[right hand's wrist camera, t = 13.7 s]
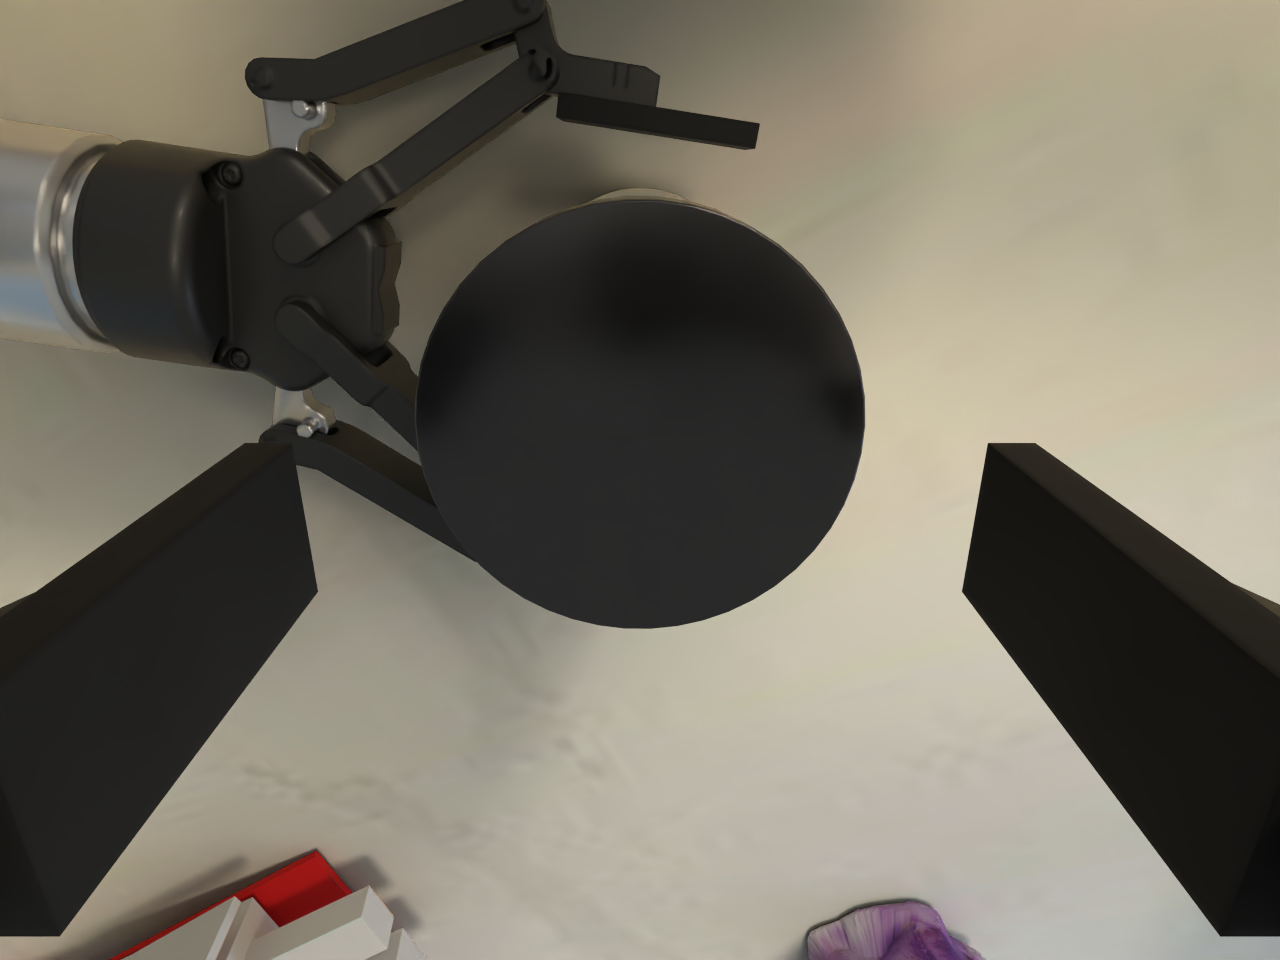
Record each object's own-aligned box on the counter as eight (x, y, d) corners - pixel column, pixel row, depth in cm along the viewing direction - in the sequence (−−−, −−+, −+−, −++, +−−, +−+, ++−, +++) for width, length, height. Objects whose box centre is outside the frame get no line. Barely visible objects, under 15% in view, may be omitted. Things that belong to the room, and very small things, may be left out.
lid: (899, 499, 20) (925, 532, 18) (555, 643, 21) (547, 685, 19) (749, 112, 16) (762, 106, 15) (354, 315, 18) (324, 331, 16)
